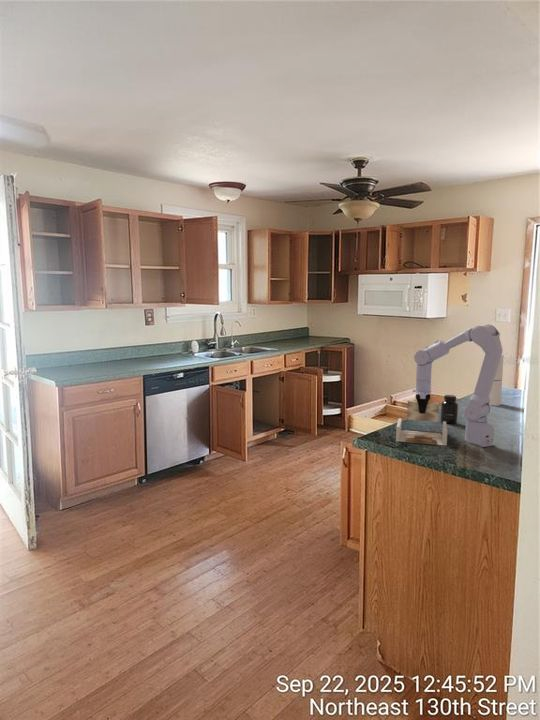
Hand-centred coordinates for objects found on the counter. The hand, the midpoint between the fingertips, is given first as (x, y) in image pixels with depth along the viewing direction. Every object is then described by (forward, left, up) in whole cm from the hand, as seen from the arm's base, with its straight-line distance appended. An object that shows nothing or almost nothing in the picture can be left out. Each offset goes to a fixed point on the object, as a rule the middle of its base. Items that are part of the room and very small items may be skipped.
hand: (422, 412), depth 194 cm
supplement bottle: (+5, -18, -8) cm, 21 cm away
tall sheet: (0, 0, -3) cm, 3 cm away
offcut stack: (-13, +11, -7) cm, 19 cm away
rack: (-9, +8, -8) cm, 14 cm away
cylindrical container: (+24, -63, -8) cm, 68 cm away
